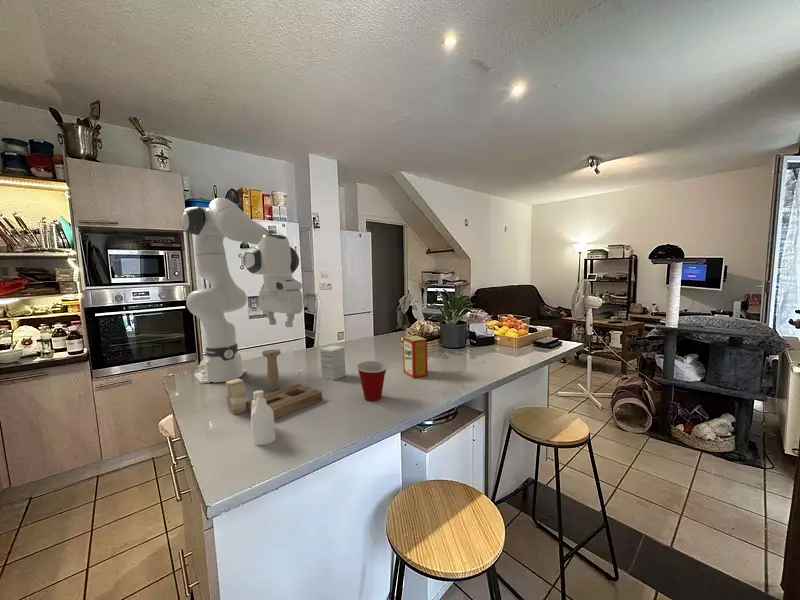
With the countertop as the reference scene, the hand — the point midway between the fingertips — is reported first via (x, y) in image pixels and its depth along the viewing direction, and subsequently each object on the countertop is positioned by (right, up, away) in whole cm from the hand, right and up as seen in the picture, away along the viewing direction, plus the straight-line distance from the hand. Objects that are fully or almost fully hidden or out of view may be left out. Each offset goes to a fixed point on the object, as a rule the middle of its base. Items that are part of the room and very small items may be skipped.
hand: (280, 325), depth 109 cm
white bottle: (-1, -29, -14) cm, 32 cm away
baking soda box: (+46, -23, +32) cm, 61 cm away
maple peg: (-14, -28, -1) cm, 31 cm away
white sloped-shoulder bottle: (+3, -29, -21) cm, 36 cm away
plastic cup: (+30, -26, +6) cm, 40 cm away
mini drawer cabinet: (+11, -24, +31) cm, 41 cm away
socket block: (+1, -27, +2) cm, 27 cm away
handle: (-9, -26, +18) cm, 33 cm away
